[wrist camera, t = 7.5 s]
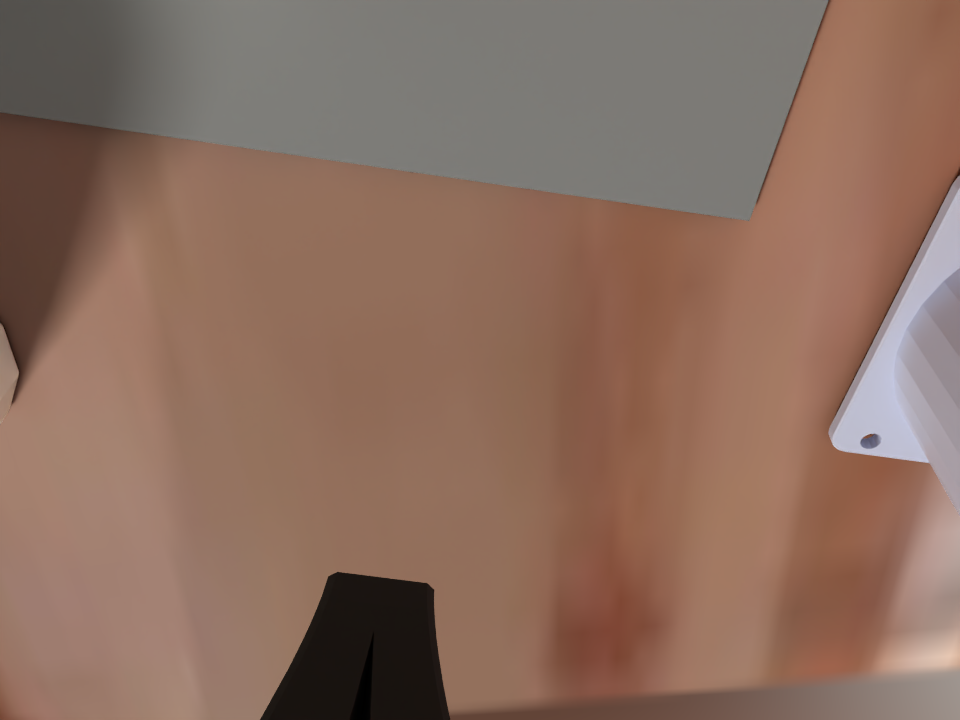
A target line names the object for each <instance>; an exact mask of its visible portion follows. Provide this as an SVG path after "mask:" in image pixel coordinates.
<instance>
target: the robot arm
mask: <svg viewBox="0 0 960 720" xmlns="http://www.w3.org/2000/svg"><path fill="white" fill-rule="evenodd" d="M868 434H874V435H873V436H872V437H869V438H867V439H862V438H863V437H864V436H866V435H868ZM829 436H830V439H831V441H832V444H833V446H834V447H835V448H837V449H838V450H841V451H844V452H851V453H859V454H866V455H874V456H881V457H889V458H896V459H904V460H911V461H918V462H926V463H930V464H931V466H932V468H933V470H934V471H935V473H936V475H937V477H938V478H939V480H940V482H941V484H942V486H943V487H944V489H945V491H946V493H947V494H948V496H949V498H950V500H951V502H952V503H953V505H954V507H955V509H956V510H957V512H958V514H959V516H960V175H959V176H958V177H957V179H956V180H955V181H954V183H953V184H952V186H951V188H950V190H949V192H948V194H947V196H946V198H945V200H944V202H943V204H942V206H941V208H940V210H939V212H938V214H937V216H936V218H935V220H934V222H933V224H932V226H931V228H930V230H929V232H928V234H927V236H926V238H925V240H924V242H923V244H922V246H921V248H920V250H919V252H918V254H917V256H916V258H915V260H914V262H913V264H912V265H911V267H910V269H909V271H908V273H907V275H906V277H905V279H904V281H903V283H902V285H901V287H900V289H899V291H898V293H897V295H896V297H895V299H894V301H893V303H892V305H891V307H890V309H889V311H888V313H887V315H886V317H885V319H884V321H883V323H882V325H881V327H880V329H879V331H878V333H877V335H876V337H875V339H874V341H873V343H872V345H871V347H870V349H869V351H868V353H867V355H866V357H865V359H864V361H863V363H862V365H861V367H860V369H859V371H858V373H857V375H856V377H855V379H854V380H853V382H852V384H851V386H850V388H849V390H848V392H847V394H846V396H845V398H844V400H843V402H842V404H841V406H840V408H839V410H838V412H837V414H836V416H835V418H834V420H833V422H832V424H831V426H830V429H829ZM260 720H450V716H449V712H448V707H447V702H446V697H445V692H444V686H443V681H442V674H441V668H440V661H439V655H438V647H437V639H436V629H435V615H434V589H433V588H431V587H430V586H429V585H428V584H427V583H421V582H413V581H405V580H397V579H389V578H381V577H373V576H365V575H357V574H349V573H341V572H336V573H334V574H332V575H330V576H328V579H327V582H326V585H325V589H324V592H323V595H322V597H321V600H320V602H319V605H318V607H317V610H316V612H315V615H314V617H313V619H312V622H311V624H310V626H309V628H308V630H307V633H306V635H305V637H304V639H303V641H302V643H301V645H300V647H299V649H298V651H297V653H296V655H295V657H294V659H293V661H292V663H291V665H290V667H289V669H288V671H287V672H286V674H285V676H284V678H283V680H282V681H281V683H280V685H279V687H278V689H277V690H276V692H275V694H274V696H273V698H272V699H271V701H270V703H269V705H268V707H267V708H266V710H265V712H264V714H263V716H262V717H261V719H260Z"/></svg>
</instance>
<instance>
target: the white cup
mask: <svg viewBox="0 0 960 720" xmlns="http://www.w3.org/2000/svg"><path fill="white" fill-rule="evenodd" d="M18 376H19V370H18V367H17V365H16V362H15V359H14V356H13V353H12V350H11V347H10V344H9V341H8V339H7V336H6V333H5V330H4V327H3V326H2V324H1V323H0V424H1V423H2V421H3V420H4V419H5V417H6V416H7V414H8V413H9V410H10V407H11V403H12V399H13V395H14V391H15V388H16V384H17V380H18Z"/></svg>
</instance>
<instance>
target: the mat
mask: <svg viewBox="0 0 960 720" xmlns="http://www.w3.org/2000/svg"><path fill="white" fill-rule="evenodd" d="M827 3H828V0H0V112H1V113H8V114H15V115H22V116H29V117H36V118H42V119H49V120H56V121H63V122H70V123H77V124H84V125H91V126H98V127H105V128H112V129H118V130H125V131H132V132H139V133H146V134H153V135H160V136H167V137H174V138H181V139H187V140H194V141H201V142H208V143H215V144H222V145H229V146H236V147H243V148H250V149H256V150H263V151H270V152H277V153H284V154H291V155H298V156H305V157H312V158H319V159H326V160H332V161H339V162H346V163H353V164H360V165H367V166H374V167H381V168H388V169H395V170H401V171H408V172H415V173H422V174H429V175H436V176H443V177H450V178H457V179H464V180H470V181H477V182H484V183H491V184H498V185H505V186H512V187H519V188H526V189H533V190H540V191H546V192H553V193H560V194H567V195H574V196H581V197H588V198H595V199H602V200H609V201H615V202H622V203H629V204H636V205H643V206H650V207H657V208H664V209H671V210H678V211H684V212H691V213H698V214H705V215H712V216H719V217H726V218H733V219H740V220H747V221H749V220H750V218H751V215H752V212H753V209H754V206H755V204H756V201H757V198H758V195H759V193H760V190H761V187H762V184H763V181H764V179H765V176H766V173H767V170H768V168H769V165H770V162H771V159H772V156H773V154H774V151H775V148H776V145H777V142H778V140H779V137H780V134H781V131H782V129H783V126H784V123H785V120H786V117H787V115H788V112H789V109H790V106H791V103H792V101H793V98H794V95H795V92H796V90H797V87H798V84H799V81H800V78H801V76H802V73H803V70H804V67H805V64H806V62H807V59H808V56H809V53H810V51H811V48H812V45H813V42H814V39H815V37H816V34H817V31H818V28H819V26H820V23H821V20H822V17H823V14H824V12H825V9H826V6H827Z"/></svg>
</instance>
